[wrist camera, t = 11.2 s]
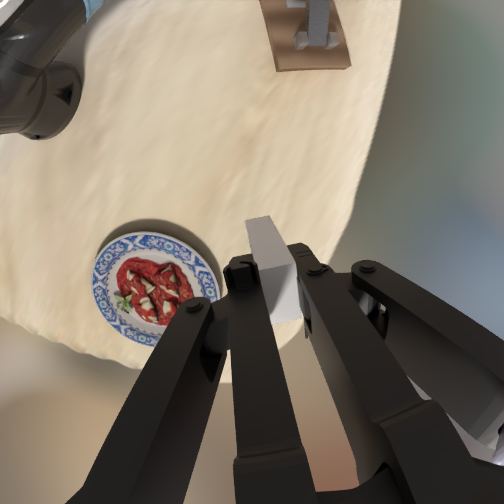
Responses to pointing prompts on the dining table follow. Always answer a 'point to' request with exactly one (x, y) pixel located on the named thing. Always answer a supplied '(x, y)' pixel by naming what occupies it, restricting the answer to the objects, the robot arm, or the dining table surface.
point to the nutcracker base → (302, 38)
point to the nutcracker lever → (317, 21)
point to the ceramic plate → (148, 283)
